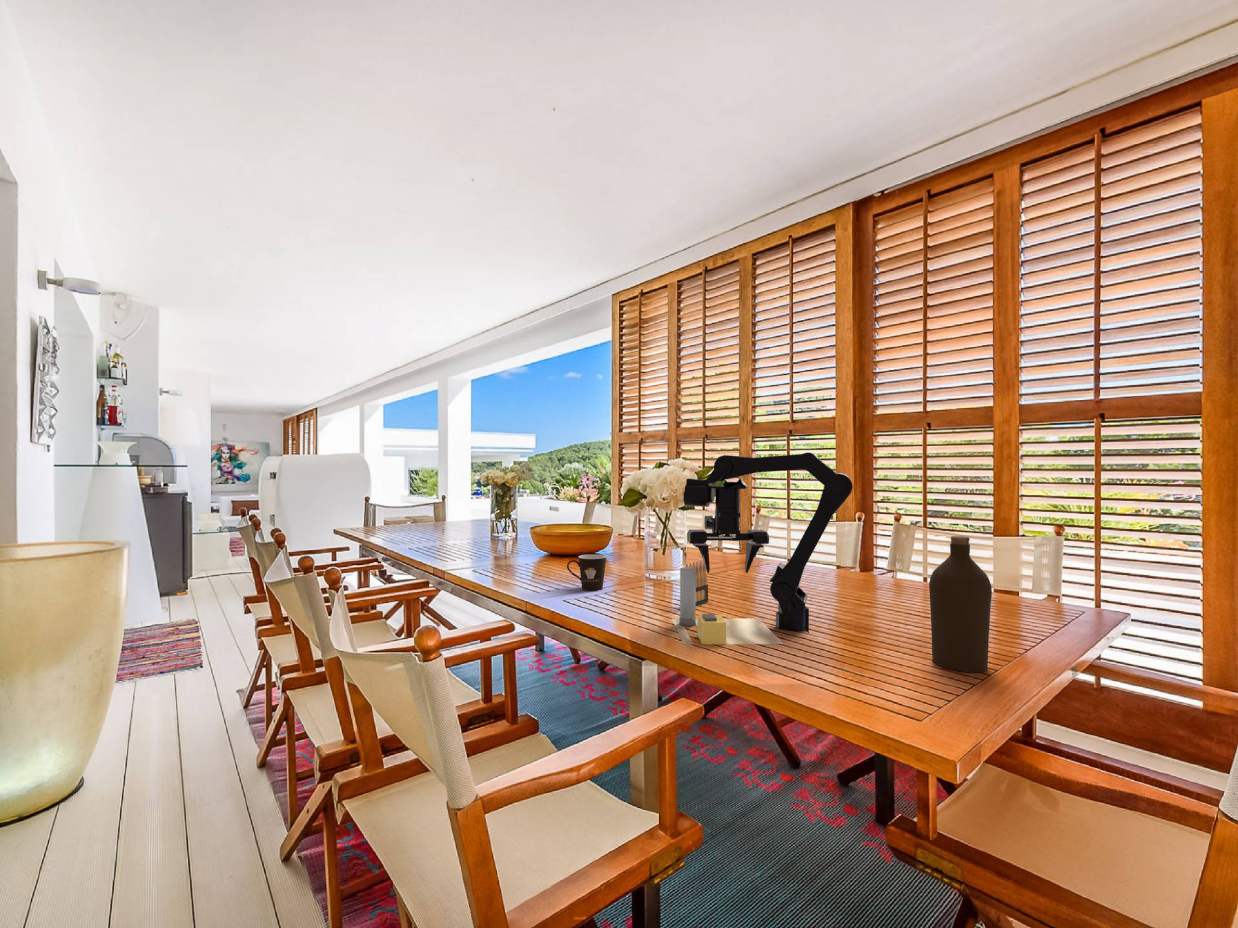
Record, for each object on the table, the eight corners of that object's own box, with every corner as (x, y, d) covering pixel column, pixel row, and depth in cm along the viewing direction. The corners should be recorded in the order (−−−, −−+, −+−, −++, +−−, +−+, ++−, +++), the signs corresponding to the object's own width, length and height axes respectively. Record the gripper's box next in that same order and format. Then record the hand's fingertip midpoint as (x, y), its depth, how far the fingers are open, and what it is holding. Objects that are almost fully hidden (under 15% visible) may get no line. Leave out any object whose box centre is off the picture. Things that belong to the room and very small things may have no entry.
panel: (757, 624, 143) (757, 618, 143) (783, 650, 123) (783, 643, 123) (671, 624, 142) (671, 618, 142) (683, 651, 122) (683, 644, 122)
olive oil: (946, 673, 110) (947, 540, 110) (918, 655, 121) (919, 533, 121) (1004, 674, 110) (1004, 540, 110) (970, 655, 121) (971, 533, 120)
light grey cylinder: (694, 621, 140) (694, 567, 140) (697, 626, 136) (697, 570, 136) (678, 621, 140) (678, 567, 140) (680, 626, 136) (681, 570, 136)
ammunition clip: (687, 609, 158) (687, 564, 158) (681, 608, 159) (682, 563, 159) (708, 602, 166) (708, 559, 166) (702, 601, 167) (703, 558, 167)
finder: (720, 635, 129) (720, 612, 129) (726, 644, 123) (726, 619, 123) (697, 635, 129) (697, 612, 129) (702, 644, 123) (702, 619, 123)
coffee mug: (611, 587, 184) (611, 556, 184) (595, 593, 177) (596, 559, 177) (581, 583, 190) (581, 552, 190) (565, 588, 183) (565, 556, 183)
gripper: (757, 505, 149) (756, 566, 149) (683, 505, 149) (683, 566, 149) (769, 508, 138) (769, 575, 138) (690, 508, 137) (690, 575, 137)
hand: (727, 572), depth 141 cm, fingers open, 9 cm apart
